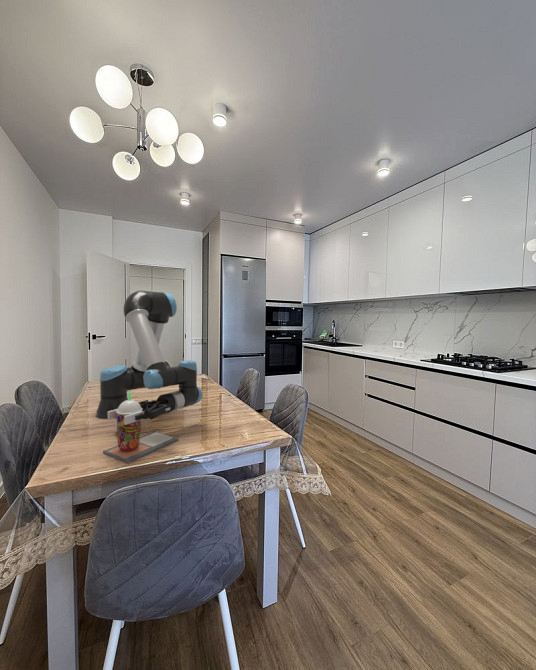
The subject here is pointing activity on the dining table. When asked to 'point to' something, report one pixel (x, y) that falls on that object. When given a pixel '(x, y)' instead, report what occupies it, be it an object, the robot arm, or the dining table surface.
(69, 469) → the dining table surface
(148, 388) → the robot arm
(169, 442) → the game board
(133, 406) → the smoothie
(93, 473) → the dining table surface
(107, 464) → the dining table surface
